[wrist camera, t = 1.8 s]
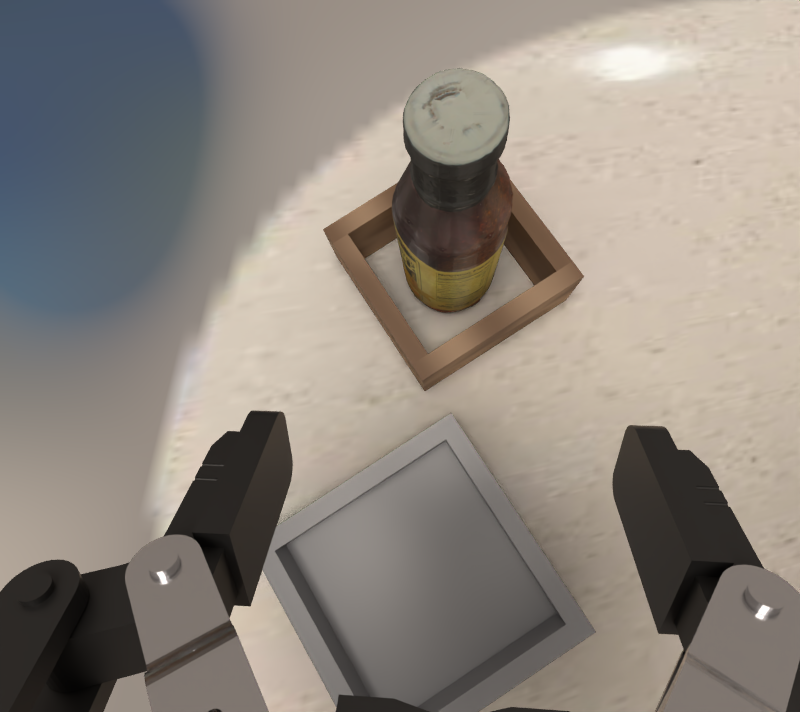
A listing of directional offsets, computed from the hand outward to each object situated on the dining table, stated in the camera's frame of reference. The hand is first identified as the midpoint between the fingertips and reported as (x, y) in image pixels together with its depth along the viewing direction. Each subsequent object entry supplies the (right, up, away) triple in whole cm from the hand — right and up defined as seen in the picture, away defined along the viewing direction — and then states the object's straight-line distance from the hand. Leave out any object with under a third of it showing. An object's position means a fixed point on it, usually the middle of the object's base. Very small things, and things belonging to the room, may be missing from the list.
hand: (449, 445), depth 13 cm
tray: (0, -12, +23) cm, 26 cm away
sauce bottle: (+2, +8, +27) cm, 28 cm away
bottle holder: (+2, +8, +27) cm, 28 cm away
